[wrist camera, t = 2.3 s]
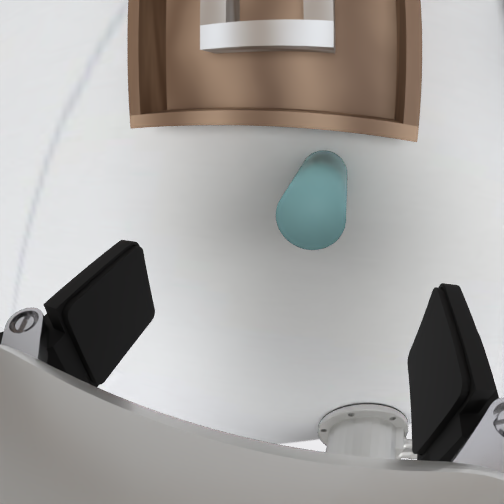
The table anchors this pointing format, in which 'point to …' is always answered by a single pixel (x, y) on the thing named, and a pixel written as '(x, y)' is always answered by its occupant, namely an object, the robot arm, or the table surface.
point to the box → (277, 64)
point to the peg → (315, 203)
